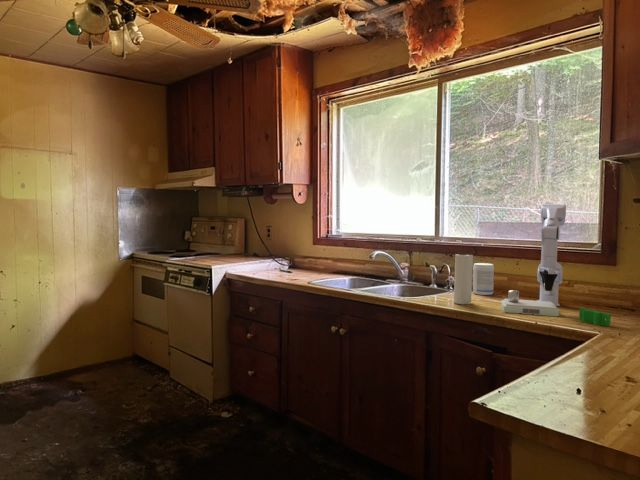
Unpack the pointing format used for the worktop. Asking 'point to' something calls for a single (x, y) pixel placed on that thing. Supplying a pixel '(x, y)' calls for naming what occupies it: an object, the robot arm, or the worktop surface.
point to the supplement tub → (483, 278)
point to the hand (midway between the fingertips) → (547, 289)
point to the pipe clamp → (594, 317)
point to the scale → (530, 307)
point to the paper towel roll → (463, 278)
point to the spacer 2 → (549, 293)
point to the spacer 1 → (513, 296)
